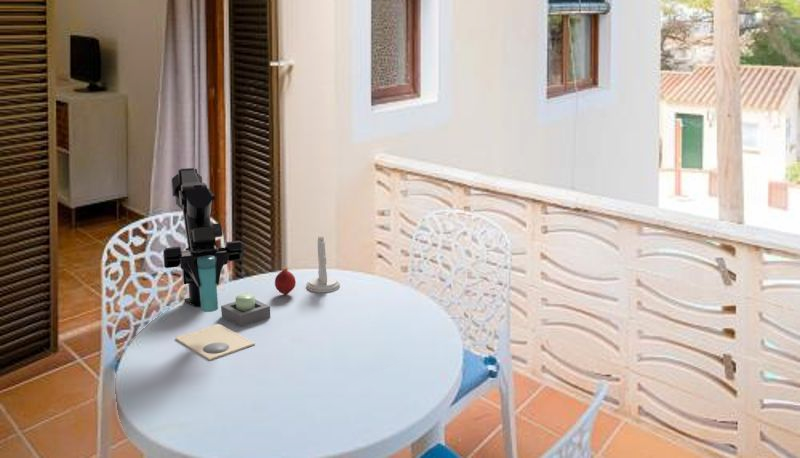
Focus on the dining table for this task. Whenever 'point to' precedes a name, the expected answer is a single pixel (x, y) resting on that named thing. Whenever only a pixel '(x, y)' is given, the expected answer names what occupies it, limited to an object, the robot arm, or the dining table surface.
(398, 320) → the dining table surface
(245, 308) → the button
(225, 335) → the sheet
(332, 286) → the paper towel holder
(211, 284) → the ball
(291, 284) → the onion
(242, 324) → the button housing
